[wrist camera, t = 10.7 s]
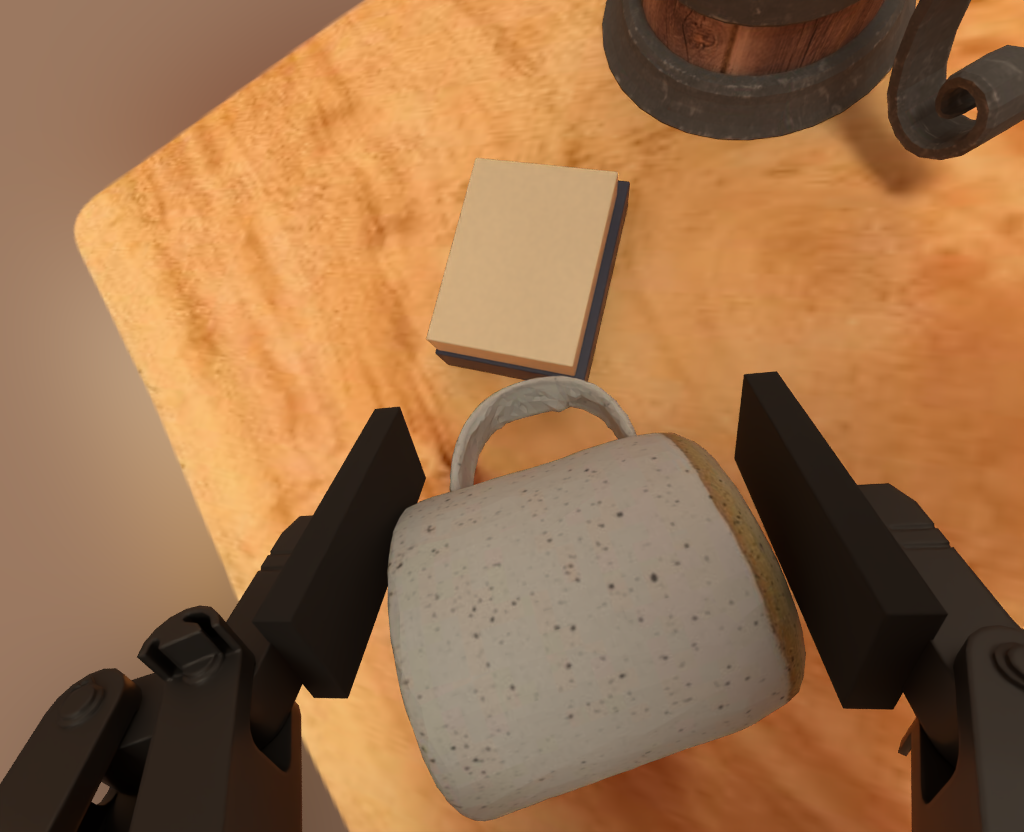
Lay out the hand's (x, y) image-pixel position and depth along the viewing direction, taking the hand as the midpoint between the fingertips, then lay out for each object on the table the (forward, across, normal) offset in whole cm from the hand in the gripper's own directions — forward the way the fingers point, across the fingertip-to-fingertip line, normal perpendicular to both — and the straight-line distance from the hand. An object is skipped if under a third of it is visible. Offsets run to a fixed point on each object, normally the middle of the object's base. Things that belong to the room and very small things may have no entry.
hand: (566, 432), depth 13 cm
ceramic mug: (+1, 0, -5) cm, 5 cm away
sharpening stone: (+16, -2, -1) cm, 16 cm away
